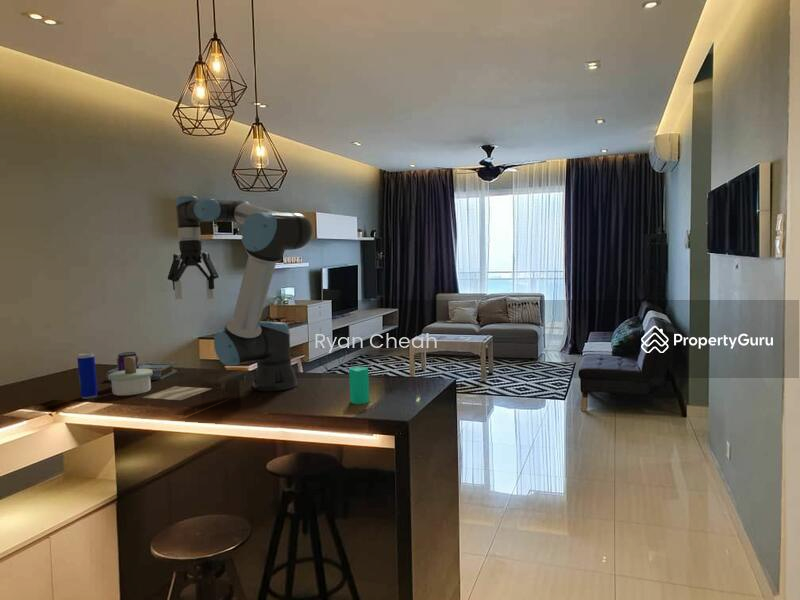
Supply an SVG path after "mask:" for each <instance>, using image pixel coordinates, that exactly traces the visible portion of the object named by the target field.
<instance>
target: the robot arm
mask: <svg viewBox="0 0 800 600" xmlns="http://www.w3.org/2000/svg"><path fill="white" fill-rule="evenodd" d="M175 199H176V200H175V201H176V202H175V203H176V205H175V209H176V219H177V233H178V234H177V235H178V240H179V241H178V246H179V251H180V254H179V253H174V254H172V255H173V256H172V263H171V266H170V269H169V272H168V275H167V280H168V281H172V289H173V291H174V296H175V300H182V299H183V291H182V281H181V280H180V279H181V277H182V276H183V274H184V272H185V271H186V269H187V268H188V267H197V268H198V270H199V271H200V272H201V273H202V275H204V278H205V279H206V280H205V290H206V299H207V300H210V299H211V300H212V299H214V290H215V281H214V280H215V279H218V278H219V274H218V272H217V269H216V268H215V265H214V264H213V262H212V260H211V256H210V253H209V252H202V249H203V248H202V240H201V238H202V237H201V233H202V232H201V223H203V222H224V223H225V222H229V223H230V222H232V223H236V224H241V225H242V226H241V231H240V236H241V243H242V244H243V247H244V248H245V249H244V250H245V252H246V254H247V255H248V258H247V261H246V265H245V269H244V271H243V272H244V273H243V276H242V280H241V282H240V283H241V284H240V288H239V292H238V295H237V299H236V303H235V306H234V307H235V308H234V311H233V315H232V318H229V319H228V320H227V321H226V322H225V327H224V330H220V331H217V332H216V334H215V335H214V340H213V346H214V351H215V353H216V356H217V358H218V360H219V362H221V363H222V364H223V365H224V366H228V367H230V366H231V367H232V366H238V365H243V364H246V363H253V362H256V369H255V374H254V377H253V381H252V386H253V391H254V390H255V391H257V392H278V391H286V390H289V389H294V388H295V387H297V386H298V381H297V380H298V379H297V375H296V373H295V371H294V368H293V366H292V359H291V341H290V336H291V334H290V327H289V324H288V323H286V322H283V321H282V322H281V321H262V320H261V317H262V314H263V310H264V307H265V303H266V300H267V296H268V292H269V290H270V285H271V284H272V283H271V281H272V278H273V275H274V271H275V267H276V264H278V263H279V262H281V261H283V258H284V255H285V252H286V251H291V250H292V251H293V250H298V249H301V248H304V246H306V245H307V244H308V243H309V242H310V240H312V239H311V238H312V236H313V232H314V231H313V225H312V222H311V220H310V219H309V218H308V217H307V216H306V215H304V214H302V213H300V212H292V211H287V212H281V211H276V210H271V209H268V208H265V207H260V206H257V205H254V204H251V203H250V202H248V201H246V200H245V201H244V200H221V199H214V198H201V199H199V198H198V197H197V196H195V195H179V196H177V197H176V198H175Z"/></svg>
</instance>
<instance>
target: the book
mask: <svg viewBox="0 0 800 600" xmlns="http://www.w3.org/2000/svg"><path fill="white" fill-rule="evenodd" d="M138 365H139V369H151V370H152V372H153V374H152V375H151V376H150V380H151V381H159V380H161V379H162V380H163V378H164V379H165V377H166V378H167V376H168V377H169V376H171V375H174V374H175V373H177V372H178V369H174V368H173V366H175V365H177V362H171V361H170V362H155V361H153V362H152V361H149V362H147V363H138ZM114 372H118V367H116V368H112V369H111V370H108V371H106V374H105V377H106V378H105V379H106V380H107V382H111V380H109V377H108V375H109V374H111V373H114ZM162 380H161V381H162Z"/></svg>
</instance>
